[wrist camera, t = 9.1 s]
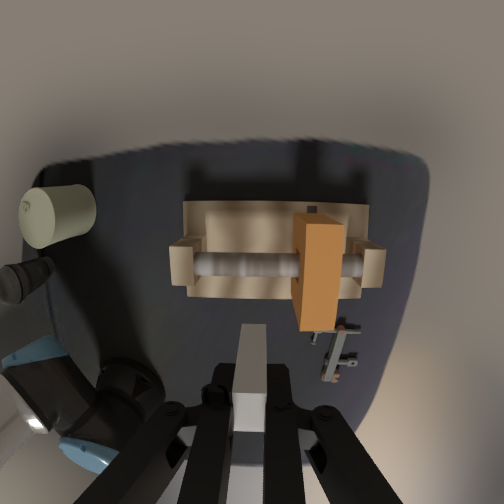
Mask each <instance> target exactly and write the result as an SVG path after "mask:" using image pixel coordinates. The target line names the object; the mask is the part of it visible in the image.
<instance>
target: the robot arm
mask: <svg viewBox="0 0 504 504" xmlns="http://www.w3.org/2000/svg"><path fill="white" fill-rule="evenodd" d="M69 355H70V354H69V353H68V352H66V350H65V349H64V348H63V347H62V345H61V344H60V343H59V341H58V340H57V339H56V338H55V337H54V336H51V335H46V336H44V337H42V338H40V339H38V340H36V341H34V342H32V343H31V344H29V345H27V346H25V347H23V348H22V349H20V350H18V351H16V352H15V353H13V354H11V355H9V356H7V357H6V358H4V359H3V360H2V364H3V367H4V368H5V370H4V371H3V372H1V373H0V470H1V469H2V468H3V466H4V465H5V464H6V463H7V462H8V461H9V460H10V459H11V458H12V457H13V455H14V454H15V453H16V452H17V451H18V450H19V449H20V448H21V447H22V446H23V445H24V444H25V442H26V441H27V440H28V439H29V438H30V437H31V436H32V435H33V434H34V433H44V434H47V433H49V432H50V430H51V429H52V428H53V429H54V430H55V431H56V432H57V433H58V434H59V435H60V436H61V438H60V439H59V443H58V445H59V448H60V449H61V451H62V452H63V453H64V454H65V455H66V456H67V457H68V458H70V459H71V460H72V461H74V462H75V463H77V464H78V465H80V466H82V467H84V468H86V469H88V470H90V471H92V472H95V473H98V474H100V475H99V476H98V477H97V478H96V479H95V480H94V481H93V482H92V484H91V485H90V486H89V487H88V488H87V489H86V490H85V491H84V492H83V493H82V494H81V496H80V497H79V498H78V499H77V500H76V501H75V502H74V503H73V504H155V503H156V502H157V501H158V499H159V498H160V497H161V495H162V494H163V492H164V490H165V489H166V488H167V486H168V485H169V483H170V481H171V480H172V478H173V477H174V475H175V474H176V472H177V471H178V469H179V467H180V466H181V464H182V463H183V461H184V460H185V458H186V457H187V455H188V453H189V452H190V454H189V458H188V462H187V466H186V470H185V474H184V477H183V481H182V485H181V489H180V494H179V497H178V501H177V504H226V499H227V491H228V482H229V474H230V465H231V456H232V448H233V430H234V431H254V432H264V447H263V448H264V467H263V472H264V473H263V504H306V502H305V492H304V481H303V473H302V462H301V453H300V449H304V451H305V453H306V455H307V457H308V459H309V461H310V464H311V466H312V468H313V470H314V472H315V474H316V476H317V478H318V480H319V482H320V484H321V486H322V488H323V490H324V492H325V494H326V496H327V498H328V500H329V502H330V504H403V503H402V502H401V500H400V499H399V497H398V496H397V495H396V493H395V492H394V491H393V489H392V487H391V486H390V484H389V483H388V482H387V480H386V479H385V477H384V476H383V474H382V473H381V472H380V470H379V469H378V467H377V466H376V464H375V463H374V462H373V460H372V459H371V457H370V456H369V454H368V453H367V451H366V450H365V448H364V447H363V445H362V444H361V443H360V441H359V440H358V438H357V437H356V435H355V434H354V432H353V431H352V429H351V428H350V426H349V425H348V423H347V422H346V421H345V419H344V418H343V416H342V415H341V413H340V412H339V411H338V410H337V409H336V408H335V407H332V406H328V405H322V406H318V407H316V408H315V409H314V410H313V411H311V410H305V409H302V408H300V407H298V406H297V405H295V404H294V402H293V400H292V393H291V384H290V377H289V369H288V368H287V367H286V365H285V364H267V363H266V324H242V327H241V334H240V341H239V348H238V354H237V361H236V364H233V363H219V364H218V365H217V366H216V367H215V369H214V373H213V377H212V381H211V384H207V385H206V386H204V387H203V388H202V390H201V396H202V404H200V405H198V406H194V407H186V408H185V406H184V405H183V404H181V403H179V402H176V401H168V402H165V391H164V388H163V386H162V384H161V382H160V381H159V379H158V378H157V377H156V376H155V375H154V374H153V373H152V372H151V371H150V370H148V369H147V368H146V367H144V366H143V365H141V364H139V363H137V362H135V361H132V360H129V359H124V358H115V359H111V360H109V361H108V362H106V364H105V365H104V366H103V367H102V368H101V370H100V372H99V375H98V379H97V384H96V388H94V387H93V386H92V385H91V383H90V382H89V381H88V380H87V378H86V377H85V376H84V375H83V373H82V372H81V371H80V369H79V368H78V367H77V365H76V364H75V363H74V361H73V360H72V358H71V357H70V356H69ZM164 402H165V403H164Z"/></svg>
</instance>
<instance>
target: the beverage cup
mask: <svg viewBox="0 0 504 504" xmlns="http://www.w3.org/2000/svg"><path fill="white" fill-rule="evenodd" d="M55 272H56V268H55V264H54V262H53V260H52V259H51V258H50V257H48V256H45V257H40V258H36V259H32V260H29V261H25V262H21V263H18V264H10V265H5V266H3V267H2V268H1V269H0V302H1V303H3V304H4V305H9V306H13V305H16V304H19V303H21V302H22V301H23V300H24V299H25V298H26V297H27V295H29V294H30V293H31V292H33V291H34V290H36V289H37V288H38V287H40V286H41V285H43V284H44V283H45V282H47V281H48V280H50V279H51V278H52V277H54V275H55Z"/></svg>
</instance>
